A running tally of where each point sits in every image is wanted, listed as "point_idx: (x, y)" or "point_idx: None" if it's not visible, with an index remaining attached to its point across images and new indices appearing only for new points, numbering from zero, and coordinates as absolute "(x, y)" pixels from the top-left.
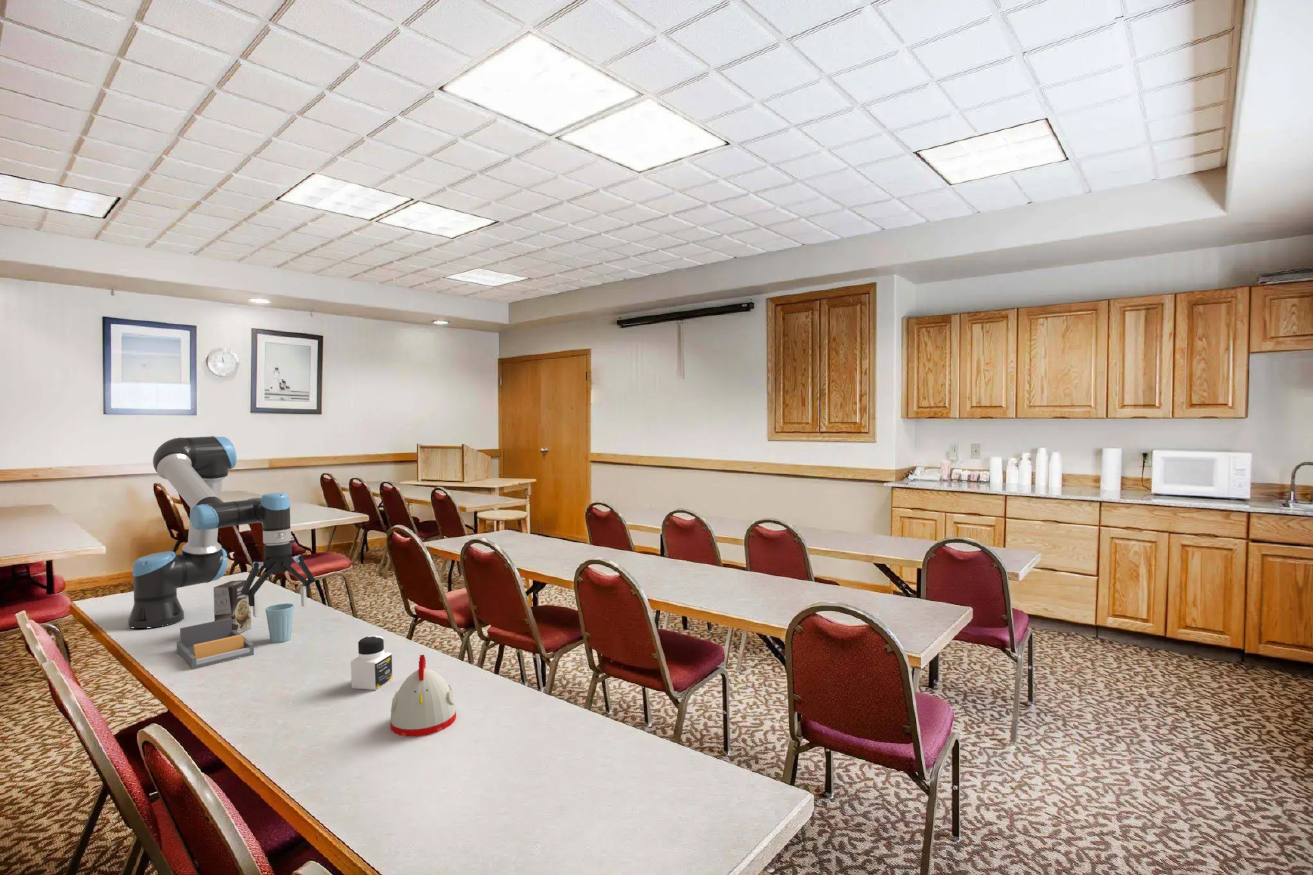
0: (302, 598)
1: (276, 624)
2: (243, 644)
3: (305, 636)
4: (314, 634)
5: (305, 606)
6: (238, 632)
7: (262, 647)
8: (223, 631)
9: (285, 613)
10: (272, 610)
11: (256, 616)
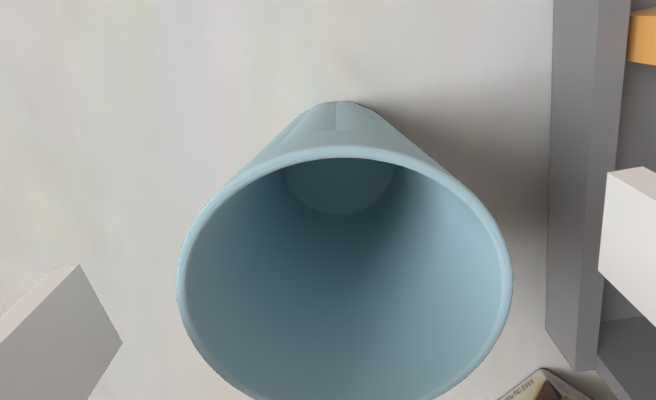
0: (40, 385)
1: (384, 129)
2: (636, 17)
3: (192, 142)
4: (138, 150)
5: (62, 267)
6: (516, 397)
7: (463, 68)
8: (654, 355)
9: (291, 142)
10: (401, 356)
11: (635, 172)
